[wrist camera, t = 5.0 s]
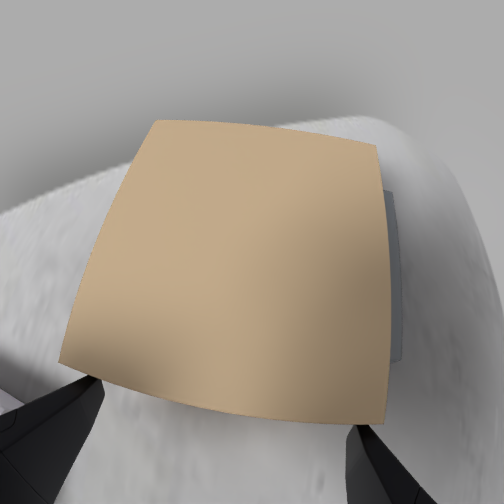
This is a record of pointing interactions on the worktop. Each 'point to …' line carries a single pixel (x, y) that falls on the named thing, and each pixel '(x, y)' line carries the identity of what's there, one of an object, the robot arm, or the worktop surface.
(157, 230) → the kraft carton
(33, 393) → the worktop surface
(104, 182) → the worktop surface
